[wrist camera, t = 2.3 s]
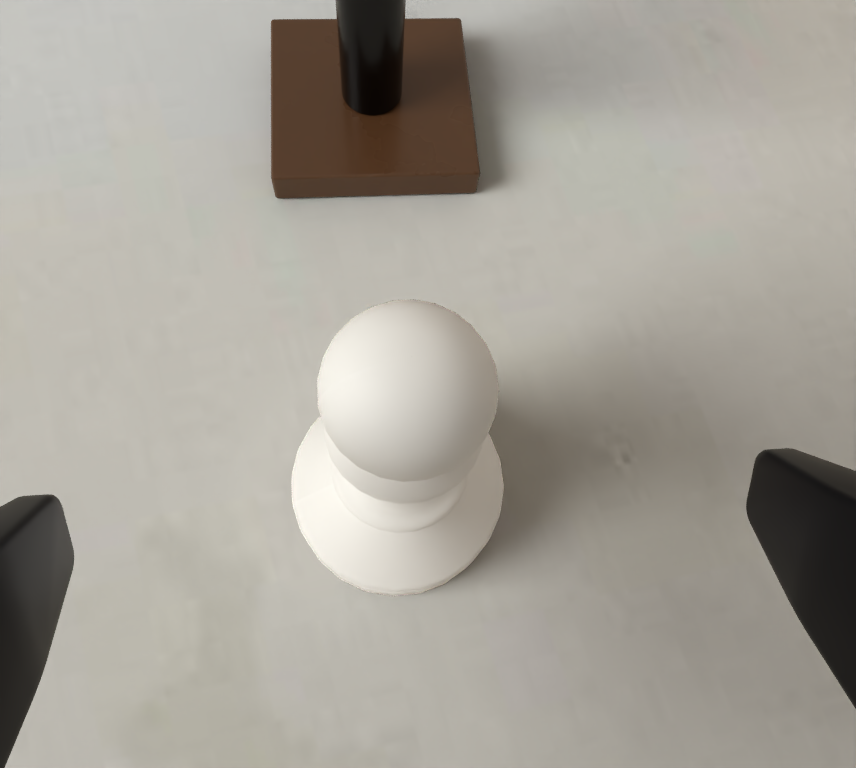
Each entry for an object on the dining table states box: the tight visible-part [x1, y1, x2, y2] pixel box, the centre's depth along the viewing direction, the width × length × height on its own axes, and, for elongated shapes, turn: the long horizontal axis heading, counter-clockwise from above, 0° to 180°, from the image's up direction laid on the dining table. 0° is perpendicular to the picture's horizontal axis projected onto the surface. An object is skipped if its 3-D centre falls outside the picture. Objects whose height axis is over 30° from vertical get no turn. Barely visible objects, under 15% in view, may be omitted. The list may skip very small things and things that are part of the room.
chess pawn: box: [291, 300, 504, 596], centre depth 14 cm, size 5×5×9 cm
